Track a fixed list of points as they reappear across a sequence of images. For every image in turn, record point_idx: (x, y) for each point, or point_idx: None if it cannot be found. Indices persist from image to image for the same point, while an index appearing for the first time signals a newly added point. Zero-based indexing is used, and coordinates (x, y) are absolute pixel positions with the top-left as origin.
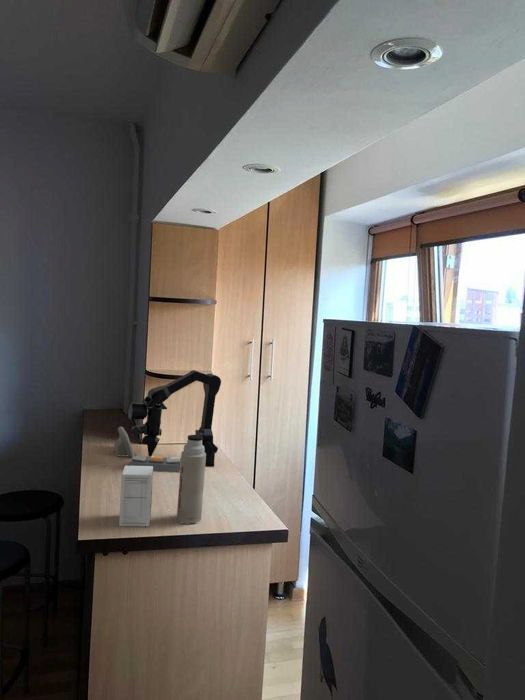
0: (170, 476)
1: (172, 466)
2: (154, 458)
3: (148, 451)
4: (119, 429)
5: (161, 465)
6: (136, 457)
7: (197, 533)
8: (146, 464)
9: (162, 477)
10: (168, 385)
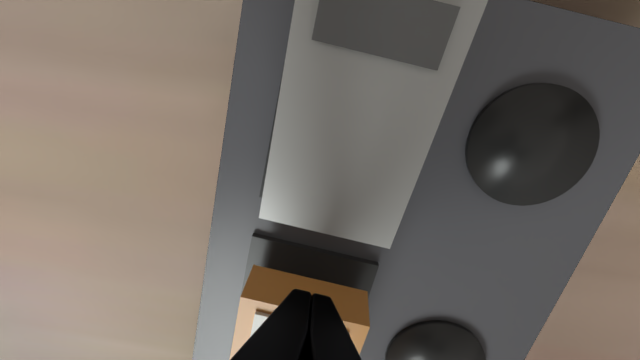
0: (92, 353)
1: None
2: (233, 346)
3: (240, 354)
4: None
5: (195, 354)
6: (289, 43)
7: None
8: (217, 194)
9: (53, 289)
10: None
